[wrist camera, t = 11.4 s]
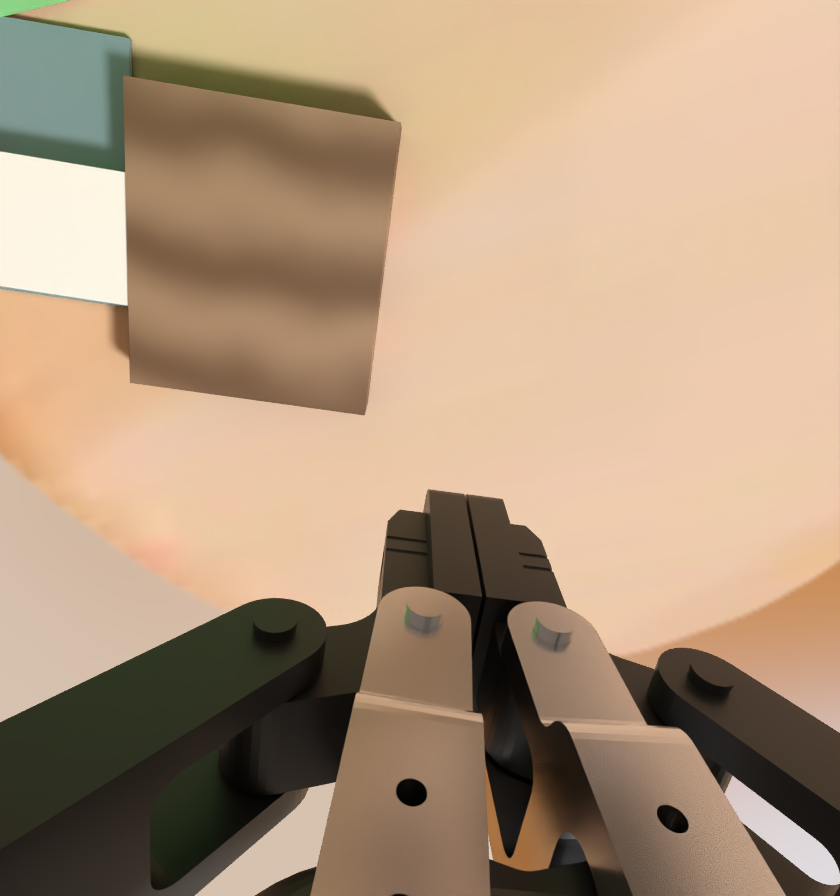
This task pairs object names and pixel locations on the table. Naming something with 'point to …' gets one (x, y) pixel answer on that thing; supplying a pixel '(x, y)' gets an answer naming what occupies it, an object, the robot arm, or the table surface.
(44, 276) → the tile
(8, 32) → the mat
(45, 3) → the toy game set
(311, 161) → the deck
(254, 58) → the table surface
